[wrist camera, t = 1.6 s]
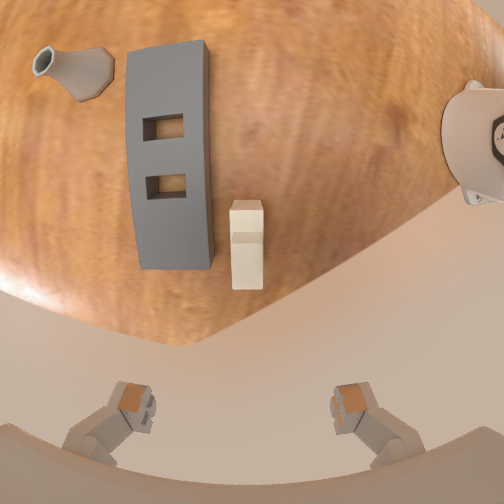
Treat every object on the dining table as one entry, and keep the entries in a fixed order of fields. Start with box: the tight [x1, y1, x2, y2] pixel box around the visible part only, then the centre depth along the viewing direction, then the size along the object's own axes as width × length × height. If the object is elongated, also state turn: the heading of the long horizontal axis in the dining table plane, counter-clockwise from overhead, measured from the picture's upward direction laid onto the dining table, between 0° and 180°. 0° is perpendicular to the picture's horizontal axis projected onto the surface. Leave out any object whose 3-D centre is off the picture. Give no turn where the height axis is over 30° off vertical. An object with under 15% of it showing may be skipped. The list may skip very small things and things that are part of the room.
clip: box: [229, 200, 263, 290], centre depth 27 cm, size 3×8×10 cm, turn 0°
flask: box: [32, 45, 114, 103], centre depth 19 cm, size 7×7×10 cm
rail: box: [125, 40, 215, 270], centre depth 27 cm, size 8×24×4 cm, turn 0°
